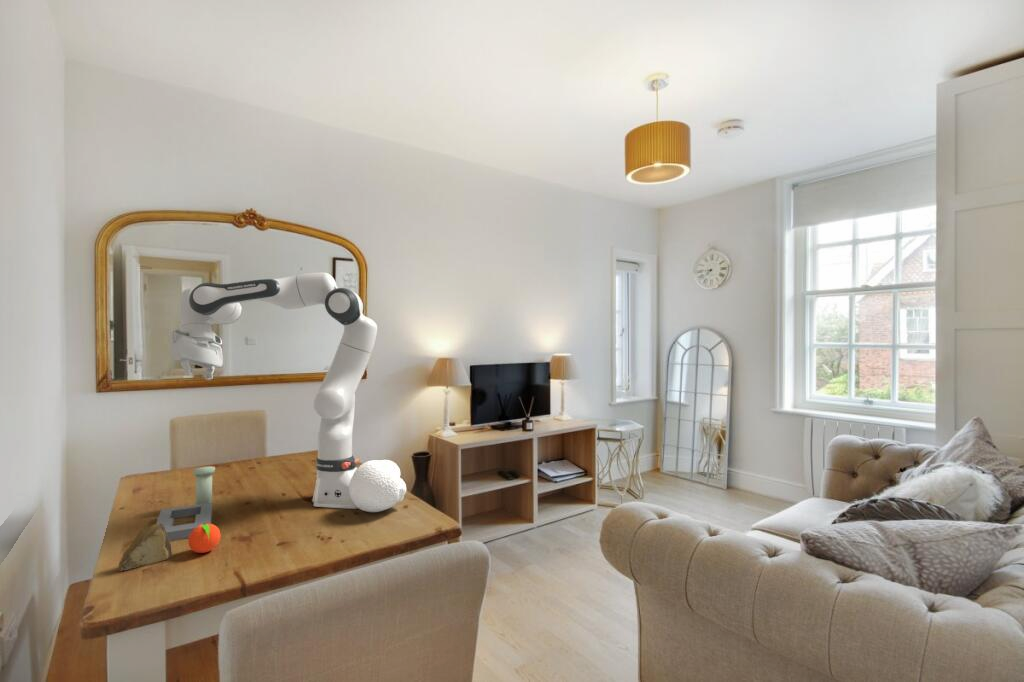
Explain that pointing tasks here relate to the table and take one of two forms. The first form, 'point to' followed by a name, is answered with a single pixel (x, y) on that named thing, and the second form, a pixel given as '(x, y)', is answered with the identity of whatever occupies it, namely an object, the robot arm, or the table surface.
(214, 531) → the clementine
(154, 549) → the rock
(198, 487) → the sage post
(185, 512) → the keyhole board
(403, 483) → the white lumpy blob
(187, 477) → the table surface
